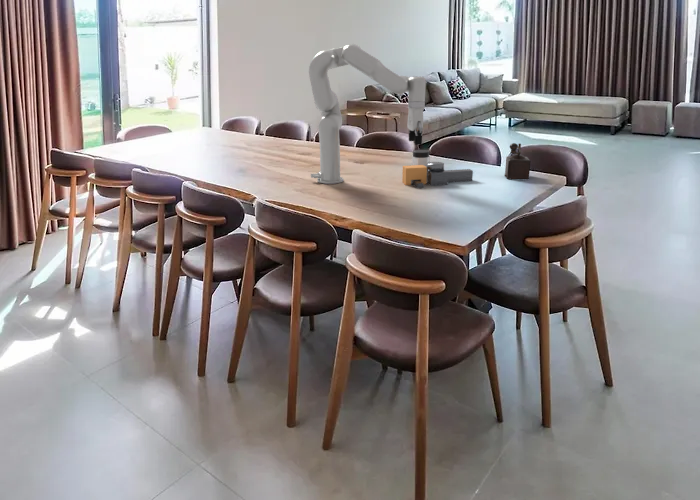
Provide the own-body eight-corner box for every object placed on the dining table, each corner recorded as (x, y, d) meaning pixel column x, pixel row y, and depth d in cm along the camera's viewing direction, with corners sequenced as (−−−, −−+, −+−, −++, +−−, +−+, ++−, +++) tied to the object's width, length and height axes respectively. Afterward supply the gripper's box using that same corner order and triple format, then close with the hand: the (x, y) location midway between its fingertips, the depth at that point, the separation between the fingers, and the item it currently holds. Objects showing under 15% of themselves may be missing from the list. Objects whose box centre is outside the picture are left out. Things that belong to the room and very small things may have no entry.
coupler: (417, 187, 289) (417, 168, 286) (406, 179, 305) (406, 160, 302) (477, 184, 294) (478, 165, 291) (463, 176, 311) (464, 158, 308)
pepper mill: (503, 174, 313) (505, 138, 307) (525, 175, 312) (528, 138, 306) (507, 182, 298) (510, 144, 292) (531, 182, 297) (534, 144, 291)
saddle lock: (405, 185, 294) (406, 168, 291) (402, 182, 299) (402, 165, 297) (426, 184, 295) (426, 167, 293) (422, 181, 301) (422, 164, 298)
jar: (427, 173, 318) (428, 149, 314) (431, 176, 311) (431, 152, 307) (410, 173, 317) (410, 149, 313) (413, 177, 310) (413, 152, 306)
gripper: (403, 103, 293) (402, 139, 298) (413, 107, 277) (412, 146, 282) (418, 102, 294) (417, 139, 300) (430, 106, 278) (428, 145, 284)
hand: (415, 142), depth 291 cm, fingers open, 9 cm apart
